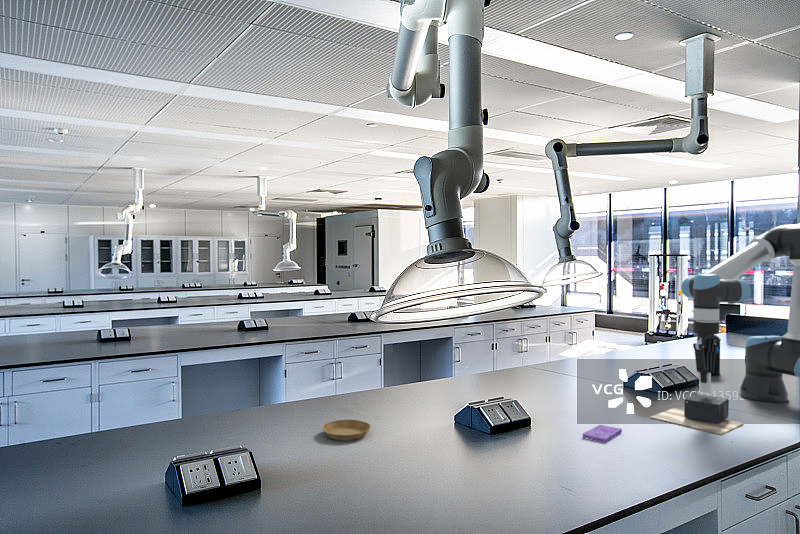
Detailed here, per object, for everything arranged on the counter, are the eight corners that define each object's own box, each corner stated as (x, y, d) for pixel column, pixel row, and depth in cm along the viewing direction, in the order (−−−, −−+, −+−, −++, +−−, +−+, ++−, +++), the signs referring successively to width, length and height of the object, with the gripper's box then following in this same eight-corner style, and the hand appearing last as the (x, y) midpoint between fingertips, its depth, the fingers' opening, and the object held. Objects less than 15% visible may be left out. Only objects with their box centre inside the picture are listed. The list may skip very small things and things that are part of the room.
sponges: (582, 439, 165) (582, 433, 165) (599, 429, 174) (599, 423, 174) (605, 445, 160) (605, 438, 160) (622, 434, 170) (622, 428, 170)
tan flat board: (674, 409, 194) (674, 408, 194) (743, 424, 176) (743, 423, 176) (650, 417, 184) (650, 416, 184) (721, 435, 167) (721, 433, 167)
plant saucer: (368, 426, 178) (367, 418, 178) (373, 441, 164) (373, 433, 164) (321, 429, 176) (321, 420, 176) (322, 445, 161) (322, 436, 161)
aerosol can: (700, 371, 253) (701, 327, 253) (721, 373, 248) (722, 328, 248) (698, 374, 247) (698, 329, 246) (719, 376, 242) (719, 331, 241)
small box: (693, 412, 189) (683, 418, 182) (694, 393, 189) (683, 398, 182) (728, 418, 182) (719, 425, 174) (729, 398, 182) (719, 404, 174)
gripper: (703, 318, 190) (702, 386, 191) (684, 321, 182) (684, 392, 183) (726, 320, 184) (726, 391, 185) (708, 323, 176) (708, 397, 177)
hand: (705, 391), depth 184 cm, fingers closed
